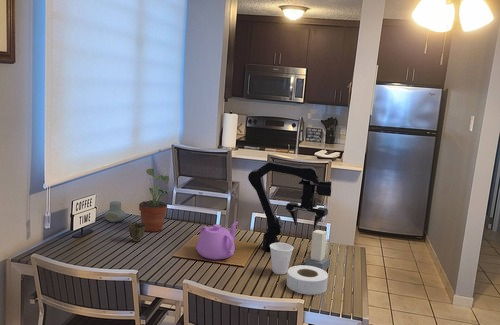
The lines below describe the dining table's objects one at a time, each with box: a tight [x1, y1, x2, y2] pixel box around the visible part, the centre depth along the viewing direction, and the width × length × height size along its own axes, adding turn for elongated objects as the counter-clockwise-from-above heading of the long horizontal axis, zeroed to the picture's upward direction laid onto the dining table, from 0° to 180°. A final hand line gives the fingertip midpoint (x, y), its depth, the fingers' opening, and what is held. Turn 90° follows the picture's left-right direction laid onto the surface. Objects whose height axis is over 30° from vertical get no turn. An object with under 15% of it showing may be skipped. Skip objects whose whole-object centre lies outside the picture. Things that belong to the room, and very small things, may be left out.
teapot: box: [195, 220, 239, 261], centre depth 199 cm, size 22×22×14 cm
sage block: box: [325, 241, 329, 256], centre depth 208 cm, size 5×5×6 cm
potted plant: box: [138, 168, 170, 233], centre depth 225 cm, size 16×15×35 cm
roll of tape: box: [286, 264, 329, 296], centre depth 173 cm, size 16×16×6 cm
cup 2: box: [270, 242, 295, 275], centre depth 184 cm, size 10×10×11 cm
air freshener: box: [104, 200, 127, 223], centre depth 237 cm, size 11×8×10 cm
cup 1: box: [128, 222, 145, 243], centre depth 208 cm, size 8×7×8 cm
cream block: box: [310, 229, 328, 261], centre depth 191 cm, size 4×5×12 cm
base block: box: [304, 255, 331, 271], centre depth 193 cm, size 8×8×4 cm
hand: (305, 227), depth 205 cm, fingers open, 9 cm apart
